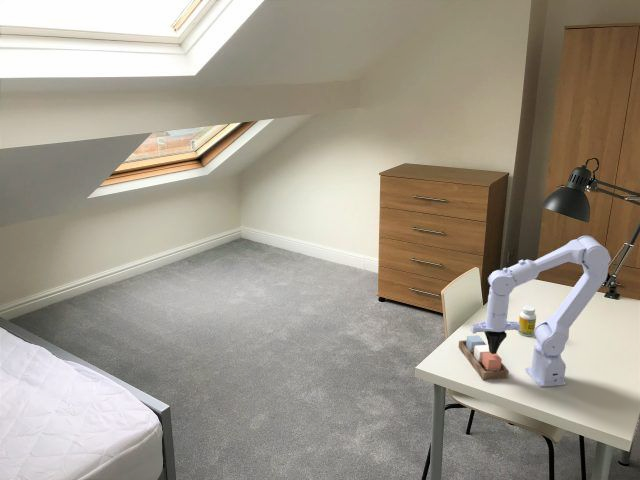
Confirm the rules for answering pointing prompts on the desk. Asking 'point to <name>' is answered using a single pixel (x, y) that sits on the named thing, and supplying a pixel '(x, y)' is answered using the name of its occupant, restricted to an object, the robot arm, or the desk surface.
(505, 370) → the frame
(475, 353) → the key white
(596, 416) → the desk surface
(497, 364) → the key terracotta
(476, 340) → the key blue
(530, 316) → the supplement bottle
